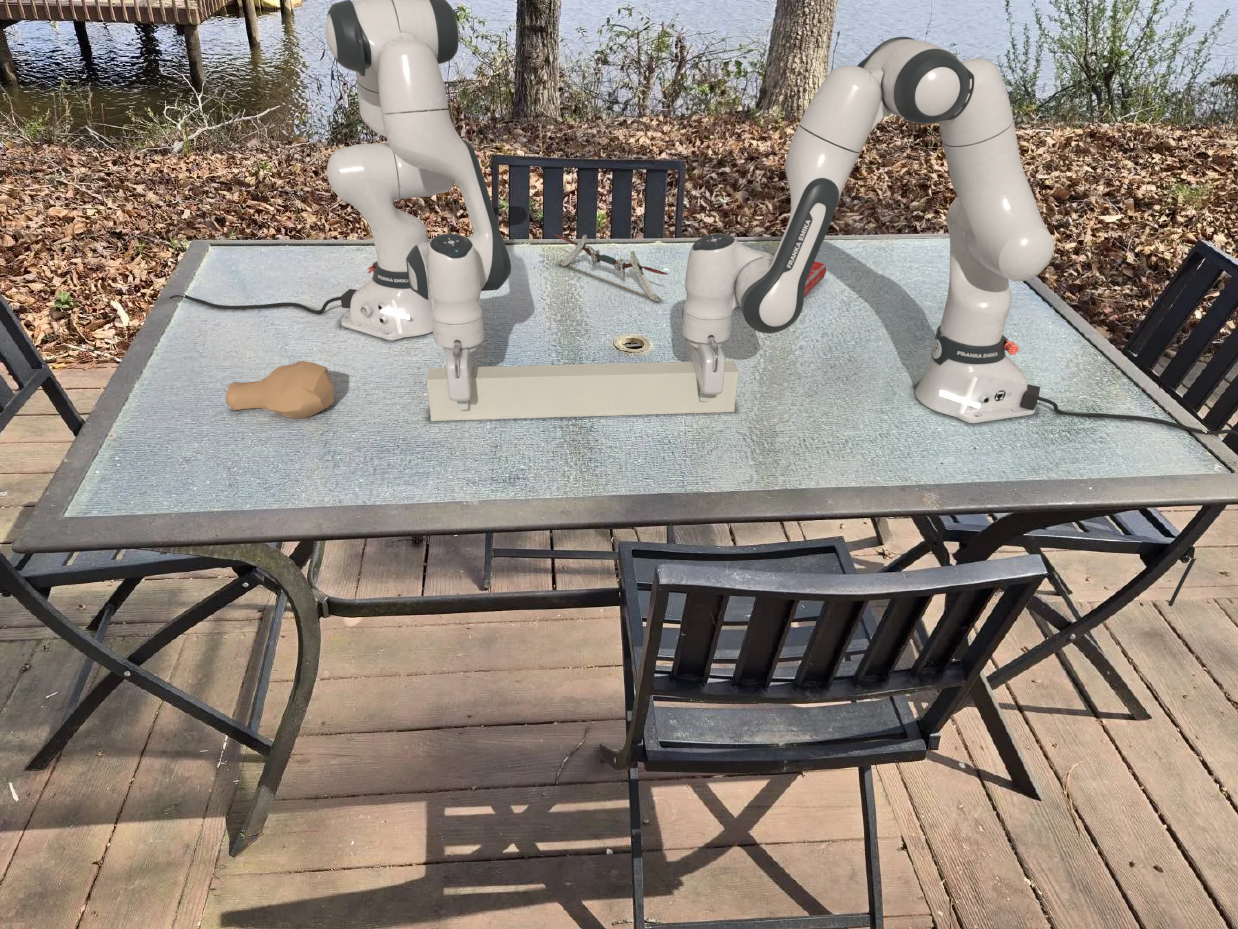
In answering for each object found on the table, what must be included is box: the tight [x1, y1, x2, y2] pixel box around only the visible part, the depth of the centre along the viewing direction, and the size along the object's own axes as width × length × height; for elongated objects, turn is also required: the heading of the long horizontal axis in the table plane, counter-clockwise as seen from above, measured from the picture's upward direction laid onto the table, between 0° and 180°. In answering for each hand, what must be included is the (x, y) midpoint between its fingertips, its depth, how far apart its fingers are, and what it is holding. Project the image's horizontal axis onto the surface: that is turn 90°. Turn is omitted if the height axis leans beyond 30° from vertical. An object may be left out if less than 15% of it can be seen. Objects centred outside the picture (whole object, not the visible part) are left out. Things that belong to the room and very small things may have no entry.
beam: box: [426, 360, 740, 422], centre depth 163 cm, size 57×5×9 cm, turn 96°
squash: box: [225, 360, 335, 420], centre depth 161 cm, size 11×20×9 cm, turn 90°
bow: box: [552, 233, 669, 302], centre depth 216 cm, size 39×2×10 cm, turn 47°
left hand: (464, 398), depth 162 cm, fingers open, 6 cm apart
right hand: (700, 392), depth 166 cm, fingers closed on beam, 4 cm apart
